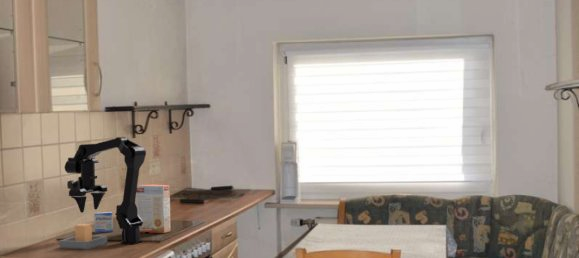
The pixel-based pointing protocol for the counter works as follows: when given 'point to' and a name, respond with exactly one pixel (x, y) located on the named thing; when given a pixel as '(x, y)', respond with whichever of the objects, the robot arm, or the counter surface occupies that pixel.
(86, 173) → the robot arm
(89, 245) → the block holder
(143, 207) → the cracker box
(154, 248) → the counter surface
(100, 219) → the medicine box
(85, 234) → the plain tan block
